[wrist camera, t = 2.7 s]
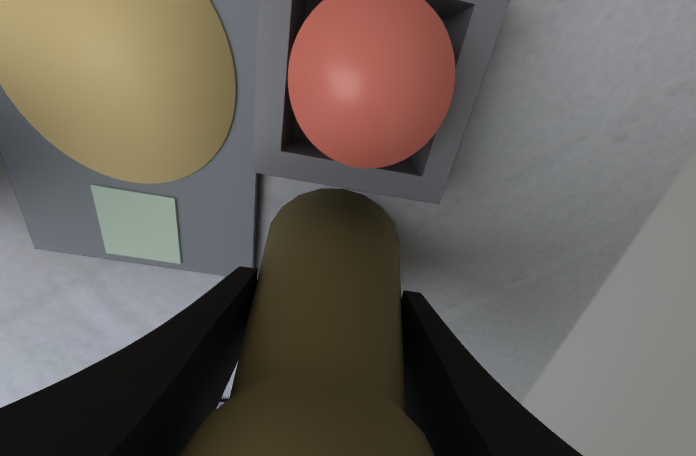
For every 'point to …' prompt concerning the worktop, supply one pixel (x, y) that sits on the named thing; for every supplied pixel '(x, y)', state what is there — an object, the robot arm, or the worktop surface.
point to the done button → (371, 79)
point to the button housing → (394, 180)
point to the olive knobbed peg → (320, 341)
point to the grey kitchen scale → (133, 128)
